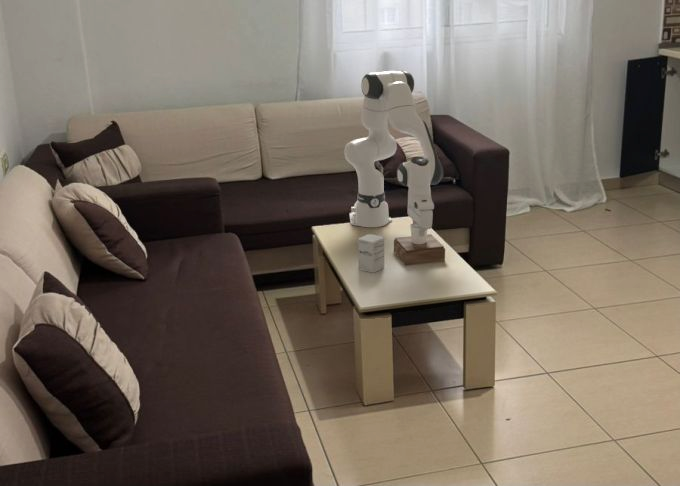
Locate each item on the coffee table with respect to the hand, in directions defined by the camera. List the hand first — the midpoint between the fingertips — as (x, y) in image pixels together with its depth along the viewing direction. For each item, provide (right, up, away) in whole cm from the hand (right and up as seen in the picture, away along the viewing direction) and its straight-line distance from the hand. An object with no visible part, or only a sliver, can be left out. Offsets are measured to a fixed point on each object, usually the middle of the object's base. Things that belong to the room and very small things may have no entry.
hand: (419, 233), depth 339 cm
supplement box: (-19, -14, -8) cm, 25 cm away
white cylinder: (0, -4, +1) cm, 4 cm away
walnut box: (0, -9, +3) cm, 10 cm away
